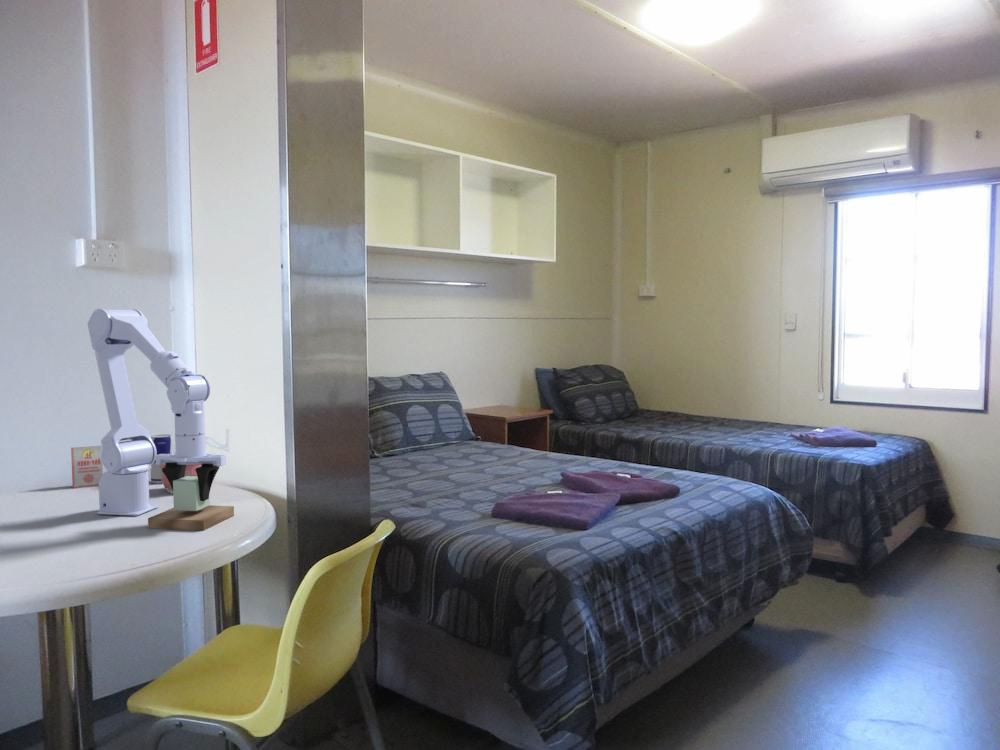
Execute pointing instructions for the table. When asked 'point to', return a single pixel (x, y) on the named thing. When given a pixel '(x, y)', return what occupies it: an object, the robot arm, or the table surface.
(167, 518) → the walnut base
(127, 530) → the table surface
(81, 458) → the printed cream box
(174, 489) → the sage block
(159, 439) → the energy drink
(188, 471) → the container
